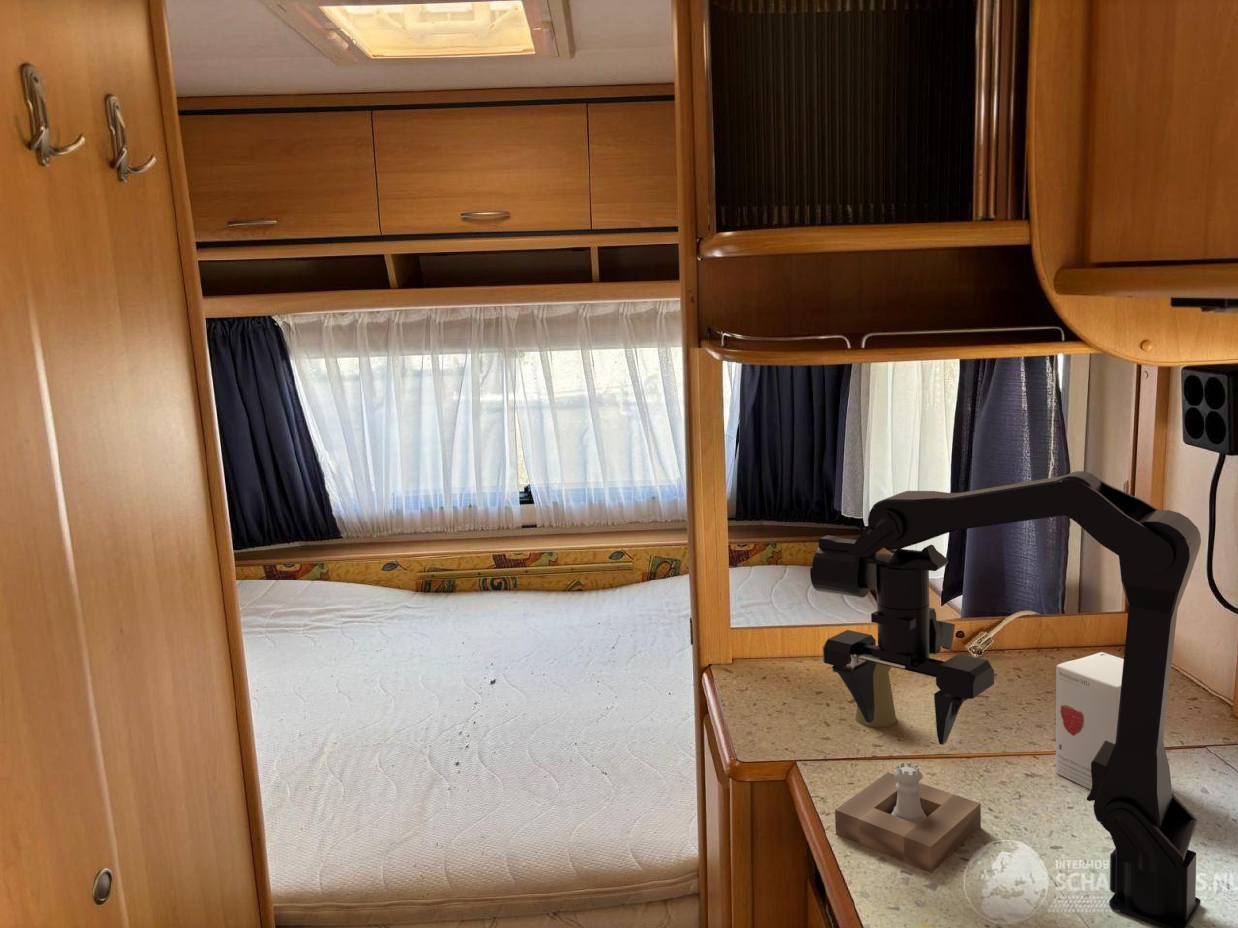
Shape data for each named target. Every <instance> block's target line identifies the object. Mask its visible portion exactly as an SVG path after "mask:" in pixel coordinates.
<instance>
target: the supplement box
mask: <svg viewBox="0 0 1238 928" xmlns="http://www.w3.org/2000/svg"><path fill="white" fill-rule="evenodd" d="M1123 662H1124V658H1121V657H1118V656H1116V655H1112V654H1109V653H1106V652H1104V651H1103V652H1102V651H1100V652H1097V653H1094V654H1091V655H1087V656H1084V657H1081V658H1077V659H1073V660H1069V661H1064V662H1061V663H1059V664H1056V685H1055V686H1056V687H1055V688H1056V696H1055V697H1056V701H1055V702H1056V703H1055V704H1056V707H1055V708H1056V709H1055V710H1056V713H1055V714H1056V715H1055V716H1056V717H1055V721H1056V722H1055V726H1056V727H1055V728H1056V729H1055V774H1058V775H1059V776H1062V777H1064V778H1066V779H1068V780H1069V781H1072V782H1074V783H1076V784H1078V785H1081V786H1082V787H1084V788H1086V789H1089V790H1090V791H1091V789H1092V776H1091V762H1092V760H1093V759H1094V757H1095V756H1096V754H1097V752H1098V751H1099V749H1100V748H1101V746H1102V744H1103V743H1104V741H1108V742H1111V743H1113V744H1115V742H1116V733H1117V722H1118V712H1119V702H1120V692H1121V682H1122V672H1123ZM1164 740H1165V739H1164V738H1163V742H1164Z"/></svg>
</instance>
